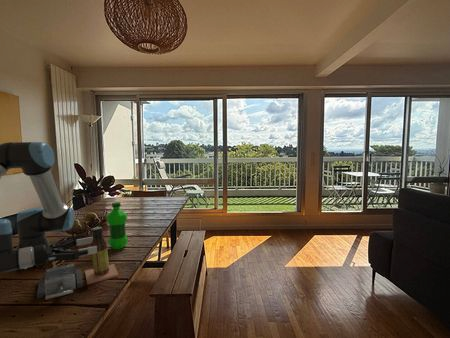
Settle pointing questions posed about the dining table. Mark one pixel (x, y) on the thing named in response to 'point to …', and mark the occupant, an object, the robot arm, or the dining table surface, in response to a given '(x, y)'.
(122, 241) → the plastic bottle
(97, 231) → the sauce bottle
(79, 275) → the dark grey square frame
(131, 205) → the dining table surface
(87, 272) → the terracotta tile
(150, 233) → the dining table surface
